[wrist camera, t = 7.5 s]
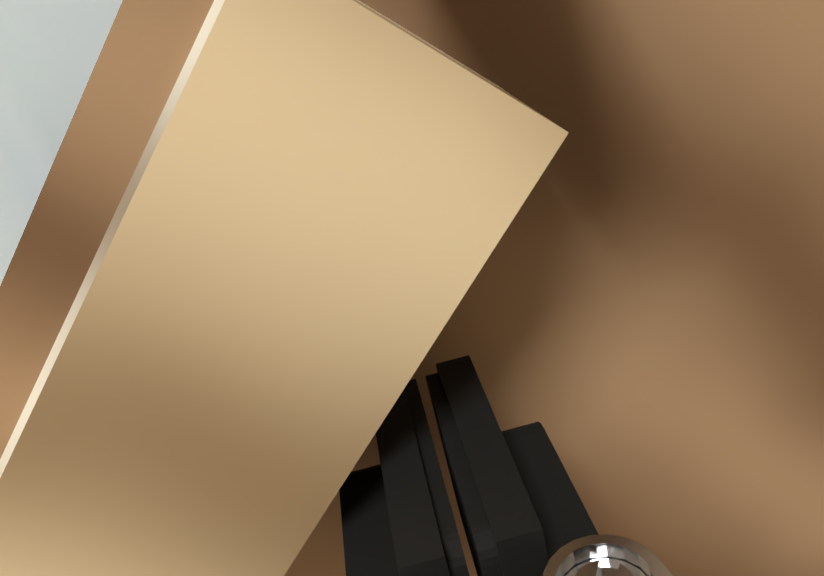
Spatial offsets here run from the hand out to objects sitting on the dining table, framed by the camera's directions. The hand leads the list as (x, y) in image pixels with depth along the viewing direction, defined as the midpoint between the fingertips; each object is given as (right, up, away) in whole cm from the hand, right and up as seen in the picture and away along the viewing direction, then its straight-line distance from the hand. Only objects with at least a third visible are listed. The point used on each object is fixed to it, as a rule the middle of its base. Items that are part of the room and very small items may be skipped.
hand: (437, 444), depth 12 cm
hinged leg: (-3, +2, -1) cm, 4 cm away
